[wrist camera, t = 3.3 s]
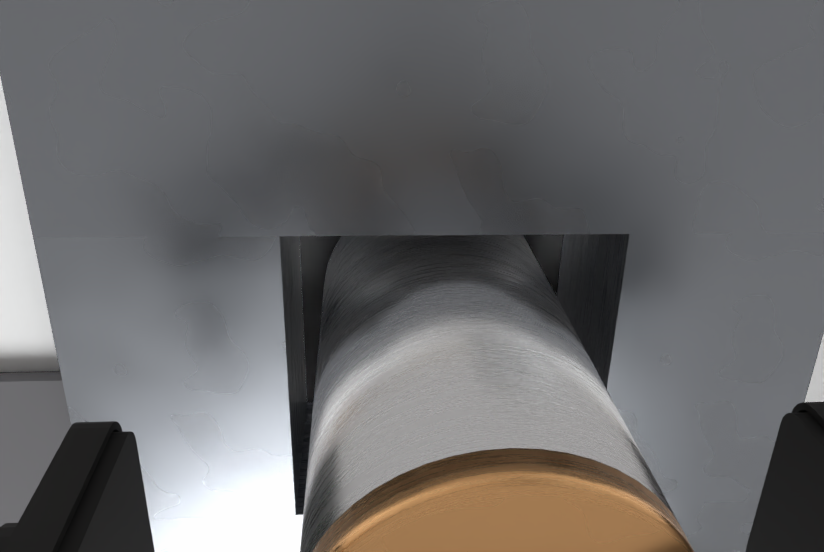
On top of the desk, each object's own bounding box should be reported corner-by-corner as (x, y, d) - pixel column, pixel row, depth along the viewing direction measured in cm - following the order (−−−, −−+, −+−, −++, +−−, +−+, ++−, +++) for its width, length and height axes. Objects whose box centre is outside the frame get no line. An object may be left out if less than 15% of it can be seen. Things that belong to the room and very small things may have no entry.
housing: (786, -24, 15) (918, -9, 12) (673, 514, 21) (739, 636, 18) (74, -37, 14) (-20, -24, 11) (162, 530, 20) (119, 662, 17)
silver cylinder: (545, 189, 17) (762, 489, 8) (527, 379, 19) (681, 790, 10) (321, 189, 17) (278, 504, 8) (327, 383, 19) (299, 812, 10)
